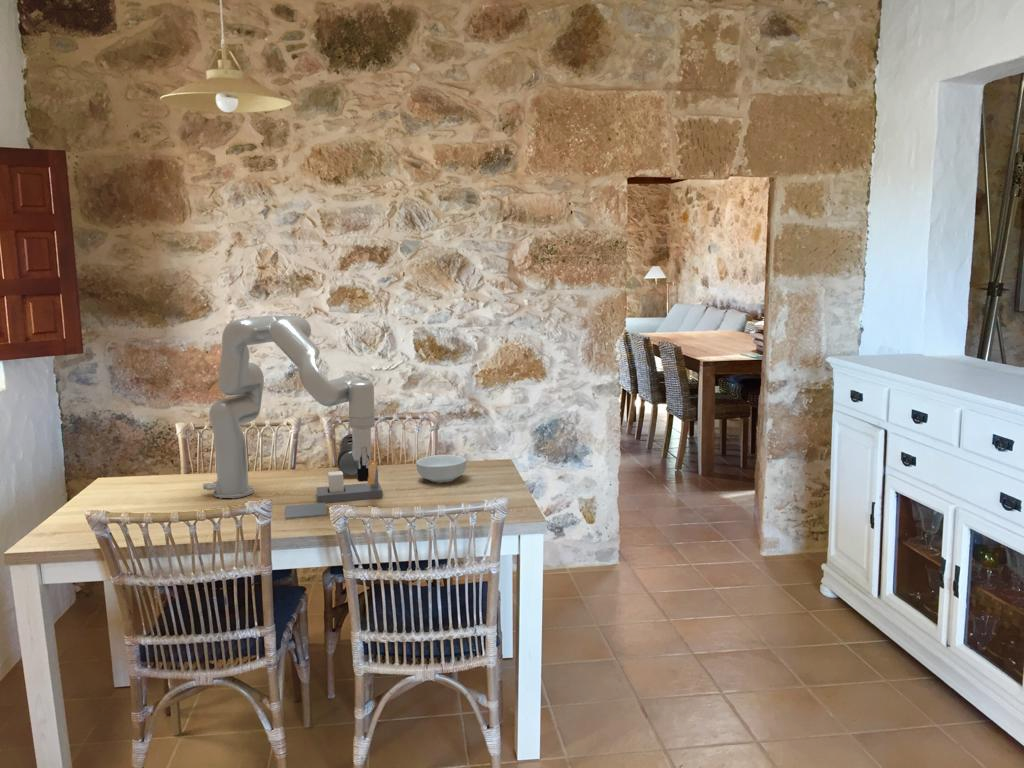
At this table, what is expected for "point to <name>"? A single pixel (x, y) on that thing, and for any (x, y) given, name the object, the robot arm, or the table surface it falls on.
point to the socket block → (351, 492)
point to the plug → (336, 482)
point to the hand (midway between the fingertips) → (363, 480)
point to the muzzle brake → (347, 457)
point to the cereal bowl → (441, 467)
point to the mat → (305, 510)
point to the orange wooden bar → (372, 471)
